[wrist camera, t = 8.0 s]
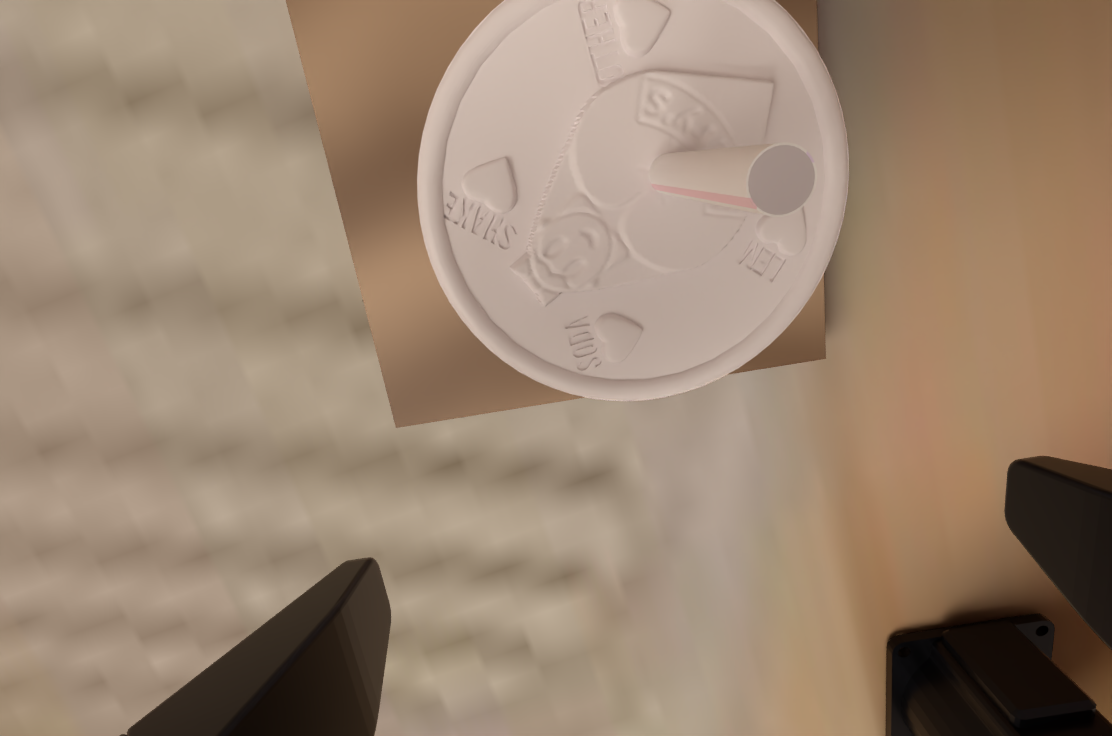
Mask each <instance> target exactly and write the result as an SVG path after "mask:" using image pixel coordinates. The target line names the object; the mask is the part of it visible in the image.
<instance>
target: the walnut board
mask: <svg viewBox="0 0 1112 736" xmlns="http://www.w3.org/2000/svg"><path fill="white" fill-rule="evenodd" d="M503 1H504V0H286V3H287V7H288V11H289V15H290V19H291V23H292V26H293V30H294V34H295V38H296V42H297V46H298V50H299V54H300V57H301V61H302V65H303V69H304V73H305V77H306V81H307V85H308V88H309V92H310V96H311V100H312V104H313V108H314V112H315V116H316V119H317V123H318V127H319V131H320V135H321V139H322V143H323V147H324V150H325V154H326V158H327V162H328V166H329V170H330V174H331V178H332V181H333V185H334V189H335V193H336V197H337V201H338V205H339V209H340V212H341V216H342V220H343V224H344V228H345V232H346V236H347V239H348V243H349V247H350V251H351V255H352V259H353V263H354V267H355V270H356V274H357V278H358V282H359V286H360V290H361V294H362V298H363V301H364V305H365V309H366V313H367V317H368V321H369V325H370V329H371V332H372V336H373V340H374V344H375V348H376V352H377V356H378V360H379V363H380V367H381V371H382V375H383V379H384V383H385V387H386V391H387V394H388V398H389V402H390V406H391V410H392V414H393V418H394V422H395V425H396V428H398V427H404V426H411V425H417V424H423V423H429V422H435V421H442V420H448V419H454V418H460V417H466V416H473V415H479V414H485V413H491V412H497V411H504V410H510V409H516V408H522V407H528V406H535V405H541V404H547V403H553V402H560V401H566V400H572V399H578V398H584V397H582V396H577V395H573V394H569V393H566V392H563V391H560V390H557V389H554V388H551V387H549V386H546V385H544V384H542V383H539V382H537V381H535V380H533V379H531V378H530V377H528V376H526V375H524V374H522V373H520V372H519V371H517V370H516V369H514V368H513V367H511V366H510V365H508V364H507V363H505V362H504V361H502V360H501V359H500V358H499V357H498V356H496V355H495V354H494V353H493V352H491V351H490V350H489V349H488V348H487V347H486V346H485V345H484V344H483V343H482V342H481V341H480V340H479V339H478V338H477V337H476V336H475V335H474V334H473V333H472V332H471V331H470V329H469V328H468V327H467V326H466V324H465V323H464V322H463V321H462V320H461V318H460V317H459V315H458V314H457V312H456V311H455V309H454V308H453V307H452V305H451V304H450V302H449V300H448V298H447V297H446V295H445V293H444V291H443V289H442V287H441V286H440V284H439V281H438V279H437V277H436V274H435V272H434V270H433V267H432V265H431V262H430V259H429V256H428V253H427V250H426V246H425V243H424V238H423V234H422V229H421V224H420V217H419V209H418V198H417V173H418V159H419V151H420V145H421V140H422V134H423V130H424V126H425V123H426V119H427V115H428V111H429V109H430V106H431V103H432V101H433V98H434V95H435V93H436V90H437V88H438V86H439V84H440V82H441V80H442V78H443V76H444V74H445V72H446V70H447V68H448V66H449V64H450V63H451V61H452V60H453V58H454V56H455V55H456V53H457V52H458V50H459V48H460V47H461V46H462V44H463V43H464V42H465V41H466V39H467V38H468V37H469V35H470V34H471V33H472V32H473V30H474V29H475V28H476V27H477V26H478V25H479V24H480V23H481V22H482V20H483V19H484V18H485V17H486V16H487V15H488V14H489V13H490V12H491V11H492V10H493V9H495V8H496V7H497V6H498V5H499V4H500V3H502V2H503ZM775 1H776V2H778V3H779V4H780V5H781V6H782V7H783V8H784V9H785V10H786V11H787V12H788V13H789V14H790V15H791V16H792V17H793V19H794V20H795V21H796V22H797V23H798V24H799V25H800V27H801V28H802V29H803V30H804V32H805V33H806V35H807V36H808V37H809V39H810V40H811V42H812V43H813V45H814V46H815V47H816V49H817V51H818V25H817V0H775ZM820 359H826V348H825V308H824V274H823V276H822V278H821V280H820V282H819V283H818V285H817V287H816V289H815V290H814V292H813V294H812V295H811V297H810V298H809V300H808V301H807V303H806V304H805V306H804V307H803V308H802V310H801V311H800V313H799V314H798V315H797V316H796V317H795V319H794V320H793V321H792V322H791V323H790V325H789V326H788V327H787V328H786V329H785V330H784V331H783V332H782V333H781V334H780V335H779V336H778V337H777V338H776V339H775V340H774V341H773V342H772V343H771V344H770V345H769V346H767V347H766V348H765V349H764V350H763V351H761V352H760V353H759V354H758V355H757V356H755V357H754V358H753V359H751V360H750V361H748V362H747V363H745V364H744V365H742V366H741V367H739V368H738V369H736V370H734V371H733V372H731V373H729V374H733V373H740V372H746V371H752V370H758V369H764V368H771V367H777V366H783V365H789V364H795V363H802V362H808V361H814V360H820Z"/></svg>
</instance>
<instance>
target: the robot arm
mask: <svg viewBox="0 0 1112 736" xmlns="http://www.w3.org/2000/svg"><path fill="white" fill-rule="evenodd" d="M1005 518H1006V521H1007V524H1008V526H1009V528H1010V530H1011V531H1012V533H1013V534H1014V535H1015V536H1016V537H1017V539H1018V540H1019V541H1020V542H1021V544H1022V545H1023V546H1024V547H1025V549H1026V550H1027V551H1028V552H1029V554H1030V555H1031V556H1032V557H1033V559H1034V560H1035V561H1036V562H1037V564H1038V565H1039V566H1040V567H1041V569H1042V570H1043V571H1044V572H1045V574H1046V575H1047V576H1048V577H1049V578H1050V580H1051V581H1052V582H1053V583H1054V585H1055V586H1056V587H1057V588H1058V590H1059V591H1060V592H1061V593H1062V595H1063V596H1064V597H1065V598H1066V600H1067V601H1068V602H1069V603H1070V605H1071V606H1072V607H1073V608H1074V609H1075V611H1076V612H1077V613H1078V614H1079V615H1080V616H1081V618H1082V619H1083V620H1084V621H1085V622H1086V623H1087V625H1088V626H1089V627H1090V628H1091V629H1092V630H1093V631H1094V632H1095V633H1096V634H1097V635H1098V636H1099V638H1100V639H1101V640H1102V641H1103V642H1104V643H1105V644H1106V645H1107V646H1108V647H1109V648H1110V649H1111V650H1112V470H1111V469H1107V468H1102V467H1097V466H1092V465H1087V464H1083V463H1078V462H1073V461H1068V460H1063V459H1059V458H1054V457H1049V456H1036V457H1030V458H1023V459H1018V460H1015V461H1013V462H1012V463H1011V464H1010V466H1009V468H1008V472H1007V484H1006V498H1005ZM390 626H391V609H390V604H389V600H388V596H387V593H386V589H385V586H384V582H383V578H382V575H381V571H380V568H379V565H378V563H377V561H376V560H375V559H374V558H362V559H355V560H348V561H346V562H344V563H342V564H341V565H340V566H338V567H337V568H336V569H335V570H333V571H332V572H331V573H329V574H328V575H327V576H325V577H324V578H323V579H322V580H320V581H319V582H318V583H316V584H315V585H314V586H313V587H311V588H310V589H309V590H307V591H306V592H305V593H304V594H302V595H301V596H300V597H298V598H297V599H296V600H294V601H293V602H292V603H291V604H289V605H288V606H287V607H285V608H284V609H283V610H282V611H280V612H279V613H278V614H276V615H275V616H274V617H272V618H271V619H270V620H269V621H267V622H266V623H265V624H263V625H262V626H261V627H260V628H258V629H257V630H256V631H254V632H253V633H252V634H251V635H249V636H248V637H247V638H245V639H244V640H243V641H241V642H240V643H239V644H238V645H236V646H235V647H234V648H232V649H231V650H230V651H229V652H227V653H226V654H225V655H223V656H222V657H221V658H219V659H218V660H217V661H216V662H214V663H213V664H212V665H210V666H209V667H208V668H207V669H205V670H204V671H203V672H201V673H200V674H199V675H197V676H196V677H195V678H194V679H192V680H191V681H190V682H188V683H187V684H186V685H185V686H183V687H182V688H181V689H179V690H178V691H177V692H176V693H174V694H173V695H172V696H170V697H169V698H168V699H166V700H165V701H164V702H163V703H161V704H160V705H159V706H157V707H156V708H155V709H154V710H152V711H151V712H150V713H148V714H147V715H146V716H144V717H143V718H142V719H141V720H139V721H138V722H137V723H135V724H134V725H133V726H132V727H130V728H129V729H128V731H127V735H126V734H121V735H120V736H374V734H375V730H376V725H377V719H378V713H379V707H380V699H381V692H382V684H383V677H384V670H385V662H386V655H387V648H388V640H389V633H390ZM1054 630H1055V628H1054V624H1053V623H1052V622H1051V621H1050V620H1049V619H1047V618H1046V617H1045V616H1044V615H1042V614H1031V615H1025V616H1018V617H1012V618H1005V619H999V620H993V621H986V622H980V623H973V624H967V625H960V626H954V627H947V628H941V629H934V630H928V631H922V632H915V633H909V634H902V635H897V636H894V637H893V638H891V639H890V640H889V642H888V643H887V664H886V736H1112V724H1111V723H1110V722H1109V721H1108V720H1107V719H1106V718H1105V717H1104V716H1103V715H1102V714H1101V713H1100V712H1099V711H1098V710H1097V709H1096V704H1095V702H1094V701H1093V700H1092V699H1091V698H1090V697H1089V696H1088V695H1087V694H1086V693H1085V692H1084V691H1083V690H1082V689H1081V688H1080V687H1079V686H1078V685H1077V684H1076V683H1075V682H1073V681H1072V680H1071V679H1070V678H1069V677H1068V676H1067V675H1066V674H1065V673H1064V672H1063V671H1062V670H1061V669H1060V668H1059V667H1058V666H1057V665H1056V664H1055V663H1054V662H1053V661H1052V660H1051V658H1052V649H1053V640H1054ZM903 647H904V648H903ZM901 648H902V649H901Z"/></svg>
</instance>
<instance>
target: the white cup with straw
mask: <svg viewBox="0 0 1112 736" xmlns="http://www.w3.org/2000/svg"><path fill="white" fill-rule="evenodd" d="M848 181H849V151H848V142H847V132H846V127H845V122H844V117H843V112H842V108H841V105H840V102H839V98H838V95H837V92H836V89H835V86H834V84H833V81H832V79H831V77H830V74H829V72H828V70H827V67H826V66H825V64H824V62H823V60H822V58H821V56H820V55H819V53H818V51H817V49H816V47H815V46H814V45H813V43H812V42H811V40H810V39H809V37H808V36H807V35H806V33H805V32H804V30H803V29H802V28H801V27H800V25H799V24H798V23H797V22H796V21H795V20H794V19H793V17H792V16H791V15H790V14H789V13H788V12H787V11H786V10H785V9H784V8H783V7H782V6H781V5H780V4H779V3H778V2H776V1H775V0H504V1H503V2H502V3H500V4H499V5H498V6H497V7H496V8H495V9H493V10H492V11H491V12H490V13H489V14H488V15H487V16H486V17H485V18H484V19H483V20H482V22H481V23H480V24H479V25H478V26H477V27H476V28H475V29H474V30H473V32H472V33H471V34H470V35H469V37H468V38H467V39H466V41H465V42H464V43H463V44H462V46H461V47H460V48H459V50H458V52H457V53H456V55H455V56H454V58H453V60H452V61H451V63H450V64H449V66H448V68H447V70H446V72H445V74H444V76H443V78H442V80H441V82H440V84H439V86H438V88H437V90H436V93H435V95H434V98H433V101H432V103H431V106H430V109H429V111H428V115H427V119H426V123H425V126H424V130H423V134H422V140H421V145H420V151H419V159H418V173H417V198H418V209H419V217H420V224H421V229H422V234H423V238H424V243H425V246H426V250H427V253H428V256H429V259H430V262H431V265H432V267H433V270H434V272H435V274H436V277H437V279H438V281H439V284H440V286H441V287H442V289H443V291H444V293H445V295H446V297H447V298H448V300H449V302H450V304H451V305H452V307H453V308H454V309H455V311H456V312H457V314H458V315H459V317H460V318H461V320H462V321H463V322H464V323H465V324H466V326H467V327H468V328H469V329H470V331H471V332H472V333H473V334H474V335H475V336H476V337H477V338H478V339H479V340H480V341H481V342H482V343H483V344H484V345H485V346H486V347H487V348H488V349H489V350H490V351H491V352H493V353H494V354H495V355H496V356H498V357H499V358H500V359H501V360H502V361H504V362H505V363H507V364H508V365H510V366H511V367H513V368H514V369H516V370H517V371H519V372H520V373H522V374H524V375H526V376H528V377H530V378H531V379H533V380H535V381H537V382H539V383H542V384H544V385H546V386H549V387H551V388H554V389H557V390H560V391H563V392H566V393H569V394H573V395H577V396H582V397H586V398H591V399H599V400H608V401H640V400H651V399H657V398H663V397H669V396H673V395H677V394H680V393H684V392H688V391H690V390H693V389H696V388H699V387H702V386H704V385H707V384H709V383H711V382H713V381H715V380H718V379H720V378H722V377H724V376H725V375H727V374H729V373H731V372H733V371H734V370H736V369H738V368H739V367H741V366H742V365H744V364H745V363H747V362H748V361H750V360H751V359H753V358H754V357H755V356H757V355H758V354H759V353H760V352H761V351H763V350H764V349H765V348H766V347H767V346H769V345H770V344H771V343H772V342H773V341H774V340H775V339H776V338H777V337H778V336H779V335H780V334H781V333H782V332H783V331H784V330H785V329H786V328H787V327H788V326H789V325H790V323H791V322H792V321H793V320H794V319H795V317H796V316H797V315H798V314H799V313H800V311H801V310H802V308H803V307H804V306H805V304H806V303H807V301H808V300H809V298H810V297H811V295H812V294H813V292H814V290H815V289H816V287H817V285H818V283H819V282H820V280H821V278H822V276H823V274H824V272H825V270H826V268H827V266H828V263H829V261H830V259H831V256H832V254H833V251H834V248H835V246H836V243H837V240H838V237H839V233H840V229H841V226H842V222H843V218H844V212H845V207H846V201H847V193H848Z"/></svg>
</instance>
